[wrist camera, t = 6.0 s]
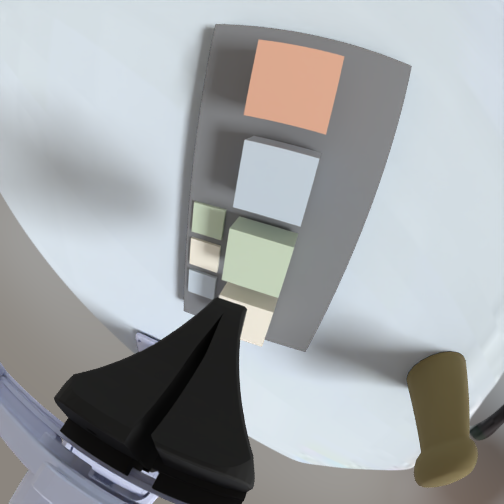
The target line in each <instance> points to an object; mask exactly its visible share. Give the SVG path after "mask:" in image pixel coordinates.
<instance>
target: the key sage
mask: <svg viewBox="0 0 504 504" xmlns="http://www.w3.org/2000/svg"><path fill="white" fill-rule="evenodd" d="M297 236H298V233H294V232H291V231H288V230H284V229H281V228H278V227H274V226H271V225H268V224H264V223H261V222H257V221H254V220H251V219H247V218H244V217H240V216H239V217H238V218H237V220H236V221H235V222H234V223H233V225H232V226H231V227H230V228H229V235H228V241H227V248H226V254H225V261H224V268H223V274H222V280H224V281H227V282H230V283H233V284H236V285H239V286H242V287H245V288H248V289H252V290H255V291H258V292H261V293H264V294H267V295H270V296H273V297H277V298H278V297H279V294H280V291H281V288H282V285H283V282H284V279H285V276H286V272H287V269H288V266H289V263H290V260H291V256H292V253H293V250H294V247H295V243H296V240H297Z"/></svg>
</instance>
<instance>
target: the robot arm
mask: <svg viewBox="0 0 504 504" xmlns="http://www.w3.org/2000/svg"><path fill="white" fill-rule="evenodd" d="M246 312H247V308H246V307H245V306H242V305H239V304H236V303H233V302H230V301H227V300H224V299H221V298H219V297H216V298H214V299H213V300H212V301H211V302H210V303H209V304H208V305H207V306H206V307H204V308H203V309H202V310H201V311H200V312H199V313H197V314H196V315H195V316H194V317H193V318H191V319H190V320H189V321H187V322H186V323H185V324H184V325H182V326H181V327H179V328H178V329H177V330H175V331H174V332H172V333H171V334H169V335H168V336H166V337H165V338H163V339H162V340H160V341H156V340H154V339H152V338H150V337H148V336H146V335H143V334H141V333H137V334H136V335H135V337H136V342H137V347H138V353H136V354H134V355H132V356H129V357H127V358H125V359H122V360H120V361H117V362H115V363H112V364H109V365H106V366H103V367H100V368H98V369H93V370H90V371H86V372H82V373H78V374H74V375H73V376H72V377H71V378H70V379H69V380H68V381H67V382H66V383H65V384H64V385H63V387H62V388H61V389H60V391H59V392H58V393H57V395H56V396H55V397H54V399H55V402H56V403H57V405H58V406H59V407H60V409H61V410H62V411H63V412H64V413H65V414H66V415H67V417H68V419H67V421H66V422H65V424H64V423H63V422H62V421H60V420H59V419H58V418H56V417H55V416H54V415H53V414H52V413H50V412H49V411H48V410H47V409H46V408H44V407H43V406H42V405H41V404H40V403H39V402H37V401H36V400H35V399H34V398H33V397H32V396H31V395H30V394H29V393H28V392H26V391H25V390H24V389H23V388H22V387H21V386H20V385H19V384H18V383H17V382H16V381H15V380H14V379H13V378H12V377H11V376H10V375H9V373H7V371H6V370H5V368H4V367H3V365H2V364H1V363H0V437H1V438H2V439H3V441H4V442H5V443H6V444H7V445H8V447H9V448H10V449H11V450H12V452H14V454H15V455H16V456H17V457H18V459H19V460H20V461H21V462H22V463H23V464H24V465H25V466H26V467H27V469H28V471H27V473H26V475H25V476H24V478H23V479H22V481H21V483H20V484H19V486H18V488H17V489H16V491H15V493H14V495H13V496H12V498H11V500H10V501H9V503H8V504H152V503H153V502H154V501H155V499H157V498H158V497H161V498H163V499H165V500H168V501H170V502H172V503H175V504H242V502H243V501H244V499H245V496H246V493H247V492H248V491H249V490H251V489H252V488H253V486H254V479H255V478H254V463H253V454H252V450H251V447H250V443H249V439H248V435H247V430H246V425H245V420H244V414H243V408H242V401H241V392H240V380H239V348H240V337H241V333H242V329H243V325H244V321H245V317H246ZM60 437H61V438H62V439H63V444H62V440H61V438H60Z"/></svg>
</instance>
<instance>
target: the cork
mask: <svg viewBox="0 0 504 504" xmlns="http://www.w3.org/2000/svg"><path fill="white" fill-rule="evenodd" d="M407 385H408V389H409V393H410V397H411V401H412V406H413V411H414V415H415V420H416V425H417V430H418V436H419V442H420V448H421V454H420V455H419V457H418V458H417V460H416V463H415V466H414V477H415V481H416V482H417V484H418V485H419V486H422V487H439V486H444V485H447V484H450V483H453V482H455V481H458V480H459V479H461V478H463V477H465V476H467V475H468V474H469V473H470V472H471V471H472V470H473V468H474V466H475V464H476V462H477V457H478V453H477V448H476V446H475V443H474V441H473V440H471V439H470V438H469V393H468V379H467V369H466V360H465V358H464V356H463V355H461V354H459V353H457V352H441V353H438V354H435V355H431V356H429V357H427V358H425V359H423V360H422V361H420V362H419V363H418V364H416V365H415V366H414V367H413V368H412V369H411V370H410V372H409V373H408V376H407Z"/></svg>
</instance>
